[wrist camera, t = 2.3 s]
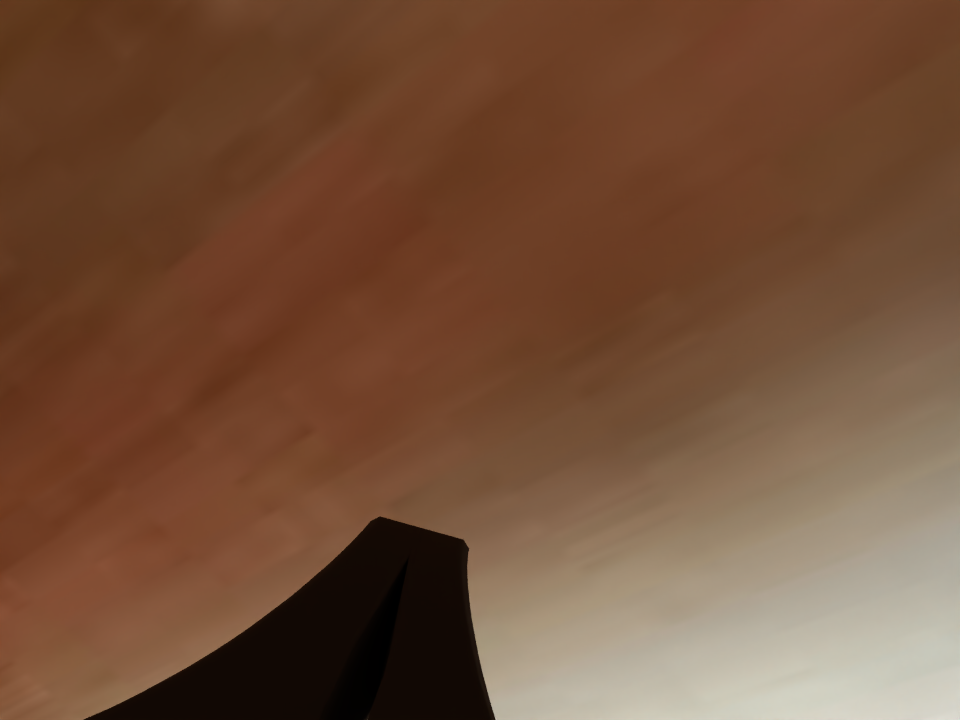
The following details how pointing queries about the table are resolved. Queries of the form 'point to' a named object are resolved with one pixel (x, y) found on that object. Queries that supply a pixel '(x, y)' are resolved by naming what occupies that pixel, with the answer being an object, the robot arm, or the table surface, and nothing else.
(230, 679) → the robot arm
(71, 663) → the table surface
